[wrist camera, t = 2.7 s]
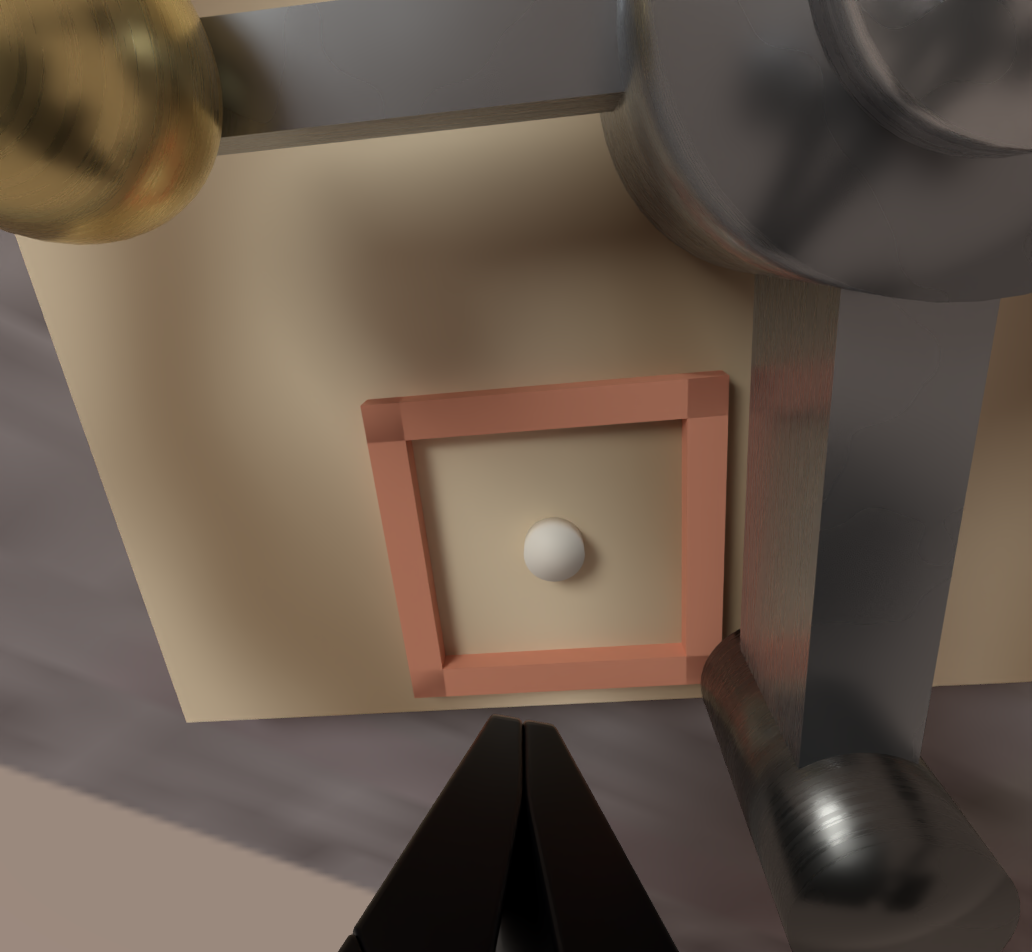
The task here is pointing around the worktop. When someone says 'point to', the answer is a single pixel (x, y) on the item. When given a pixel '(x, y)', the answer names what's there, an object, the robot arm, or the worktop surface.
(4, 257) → the worktop surface
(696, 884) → the worktop surface
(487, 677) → the level window
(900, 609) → the bell crank
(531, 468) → the board
